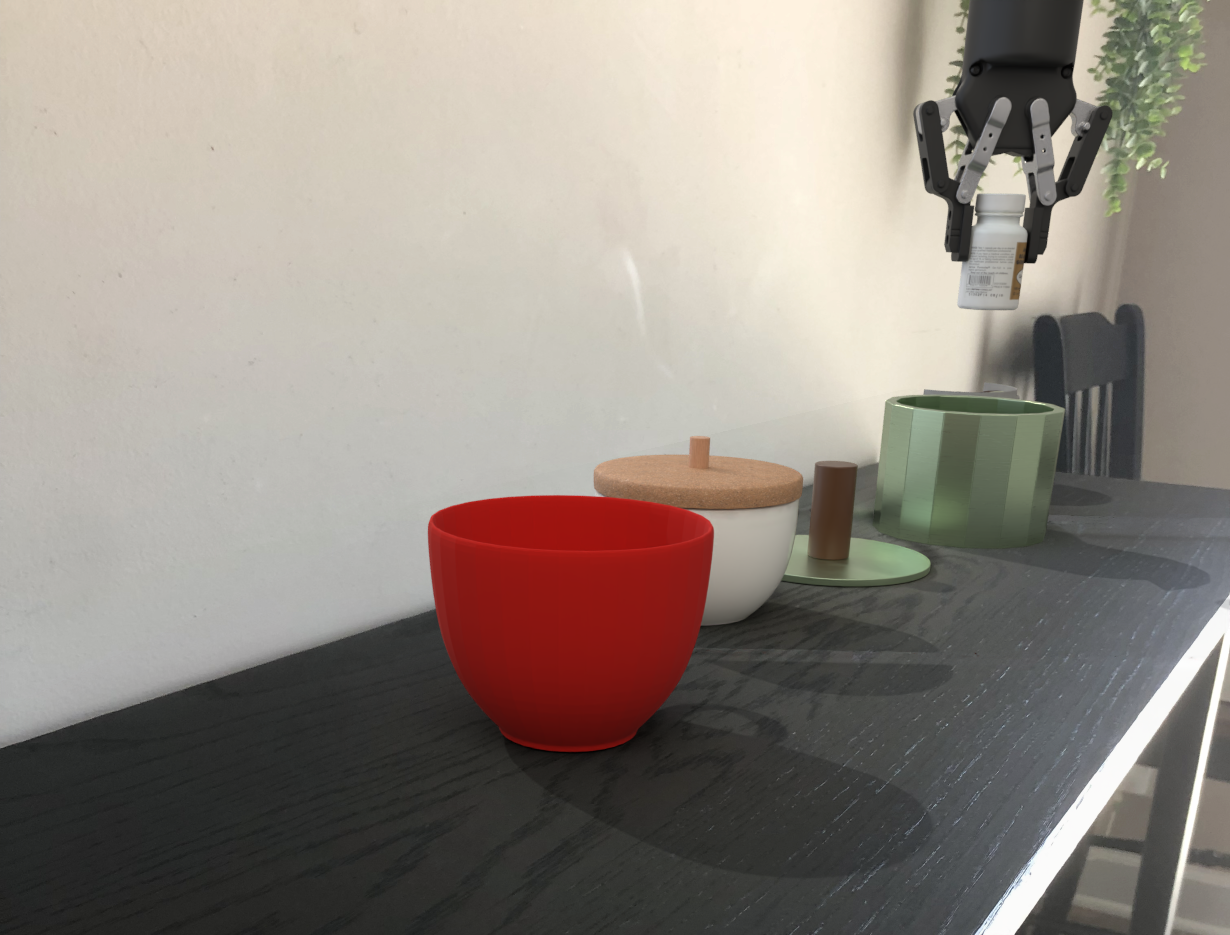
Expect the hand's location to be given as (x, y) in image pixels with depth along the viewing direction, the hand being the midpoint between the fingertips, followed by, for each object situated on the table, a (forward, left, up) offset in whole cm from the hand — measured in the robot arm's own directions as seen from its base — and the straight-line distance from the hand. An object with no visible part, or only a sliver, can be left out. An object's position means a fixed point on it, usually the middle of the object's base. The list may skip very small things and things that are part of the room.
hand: (993, 260), depth 97 cm
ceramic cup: (+30, +42, -21) cm, 56 cm away
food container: (-7, -22, -21) cm, 31 cm away
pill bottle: (0, 0, -4) cm, 4 cm away
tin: (-1, -4, -21) cm, 21 cm away
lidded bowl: (+23, +23, -21) cm, 39 cm away
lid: (+12, +9, -20) cm, 25 cm away
